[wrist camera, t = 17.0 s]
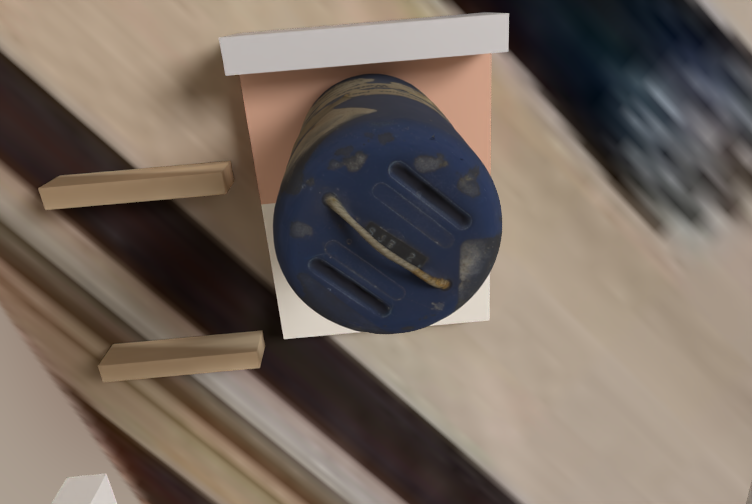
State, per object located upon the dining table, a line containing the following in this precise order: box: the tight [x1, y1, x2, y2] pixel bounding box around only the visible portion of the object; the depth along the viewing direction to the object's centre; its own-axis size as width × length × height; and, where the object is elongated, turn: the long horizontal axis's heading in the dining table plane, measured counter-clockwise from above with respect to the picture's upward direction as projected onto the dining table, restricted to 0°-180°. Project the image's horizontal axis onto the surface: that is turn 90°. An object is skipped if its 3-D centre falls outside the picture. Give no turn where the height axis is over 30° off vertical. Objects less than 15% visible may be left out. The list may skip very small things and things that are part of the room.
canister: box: [273, 74, 502, 334], centre depth 29 cm, size 10×10×18 cm
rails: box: [38, 161, 265, 382], centre depth 41 cm, size 16×12×3 cm
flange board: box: [219, 13, 509, 339], centre depth 38 cm, size 22×16×6 cm
